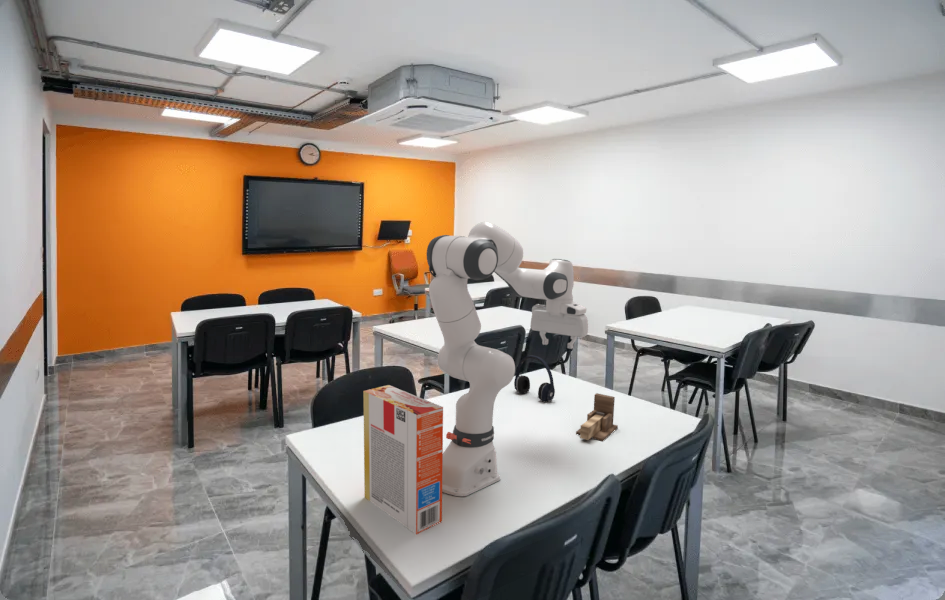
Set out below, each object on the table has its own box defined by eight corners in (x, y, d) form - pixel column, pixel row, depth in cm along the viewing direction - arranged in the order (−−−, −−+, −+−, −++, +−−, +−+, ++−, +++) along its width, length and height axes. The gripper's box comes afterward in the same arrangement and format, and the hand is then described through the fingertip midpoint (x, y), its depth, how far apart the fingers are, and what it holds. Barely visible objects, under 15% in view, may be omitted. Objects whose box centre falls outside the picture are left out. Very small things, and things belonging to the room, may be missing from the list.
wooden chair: (602, 441, 181) (604, 408, 180) (576, 434, 187) (577, 402, 185) (617, 428, 194) (619, 397, 192) (592, 421, 199) (593, 391, 197)
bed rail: (588, 440, 180) (588, 425, 179) (579, 438, 181) (580, 423, 180) (603, 427, 191) (604, 413, 191) (596, 425, 193) (596, 411, 192)
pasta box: (441, 521, 130) (443, 407, 126) (416, 534, 125) (416, 414, 121) (389, 487, 147) (388, 384, 143) (364, 497, 141) (363, 390, 137)
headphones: (511, 392, 232) (512, 353, 229) (521, 389, 237) (523, 350, 234) (546, 404, 217) (547, 362, 215) (556, 401, 222) (558, 359, 219)
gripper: (527, 304, 180) (526, 343, 182) (583, 310, 168) (581, 352, 170) (536, 302, 185) (535, 340, 187) (590, 308, 174) (588, 349, 176)
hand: (557, 346), depth 179 cm, fingers open, 8 cm apart
